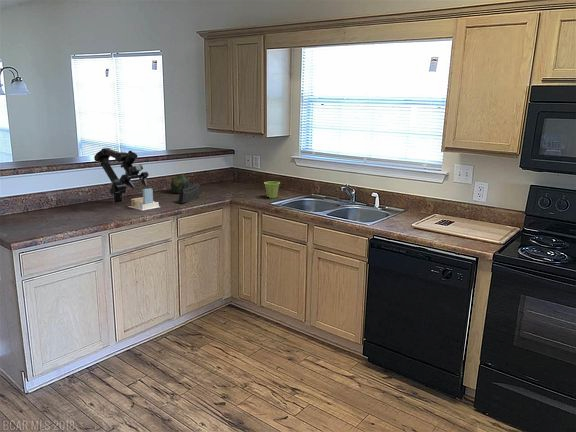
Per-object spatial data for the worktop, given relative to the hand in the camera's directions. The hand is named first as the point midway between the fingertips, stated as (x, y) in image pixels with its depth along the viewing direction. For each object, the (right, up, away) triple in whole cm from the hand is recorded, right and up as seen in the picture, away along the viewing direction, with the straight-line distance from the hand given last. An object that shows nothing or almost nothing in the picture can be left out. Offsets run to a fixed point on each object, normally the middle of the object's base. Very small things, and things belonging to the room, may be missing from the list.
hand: (140, 187), depth 290 cm
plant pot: (+82, -5, +48) cm, 95 cm away
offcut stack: (-1, -11, +3) cm, 12 cm away
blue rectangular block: (+6, -13, -1) cm, 14 cm away
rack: (+2, -14, +2) cm, 14 cm away
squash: (+12, 0, +57) cm, 58 cm away
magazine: (+25, -7, +31) cm, 41 cm away
